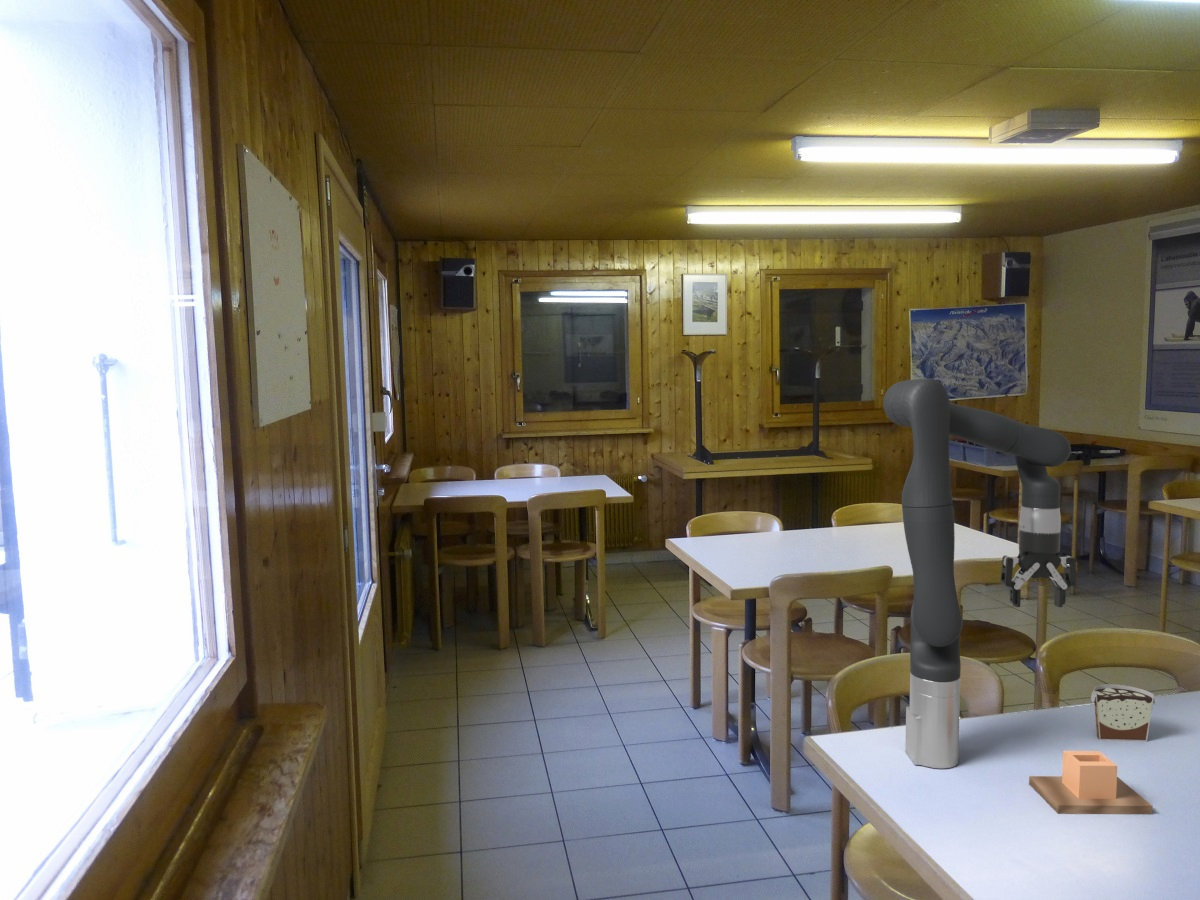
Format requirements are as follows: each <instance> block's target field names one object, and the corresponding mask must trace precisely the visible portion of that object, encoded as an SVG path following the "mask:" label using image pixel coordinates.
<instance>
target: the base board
mask: <svg viewBox="0 0 1200 900" xmlns="http://www.w3.org/2000/svg"><path fill="white" fill-rule="evenodd" d="M1028 784H1029V786H1030V787H1031V788H1032V789H1034V791H1035V792H1036V793H1037V794H1038V795H1039V796H1040V797H1041V798H1042V799H1043V800H1044V802H1046V803H1047V804H1048V805H1049V806H1050V808H1052V810H1054V812H1056V814H1058V815H1059V814H1061V815H1062V814H1063V815H1065V814H1066V815H1067V814H1069V815H1072V814H1073V815H1074V814H1075V815H1078V814H1079V815H1082V814H1083V815H1102V814H1103V815H1153V808H1154V807H1153V805H1152V804H1151V803H1150V802H1149V801H1148V800H1146V799H1145V798H1144V797H1143V796H1142V795H1140V794H1139V793H1138V792H1137V791H1136V790H1134V789H1133V788H1132V787H1130V786H1129V785H1128V784H1127V783H1126V782H1124V781H1123V780H1122V779H1121V778H1120V777H1118V776H1117V788H1116V799H1079V798H1078V797H1077V796H1076V795H1074V794H1073V793H1072V792H1071V791H1070V790H1069V789H1068V788H1067V787H1066V786H1065V785H1064V784H1063V783H1062V775H1061V776H1060V775H1058V776H1052V775H1050V776H1049V775H1047V776H1046V775H1045V776H1043V775H1042V776H1041V775H1037V776H1035V775H1033V776H1032V775H1029V778H1028Z"/></svg>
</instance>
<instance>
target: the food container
mask: <svg viewBox="0 0 1200 900" xmlns="http://www.w3.org/2000/svg"><path fill="white" fill-rule="evenodd" d="M1090 701H1091V702H1092V703H1093V704H1094V716H1095V717H1094V718H1095V730H1096V738H1097V739H1098V741H1110V742H1111V741H1115V742H1117V741H1118V742H1122V741H1123V742H1146V743H1147V742H1148V738H1149V737H1148V736H1149V732H1150V724H1151V718H1152V713H1153V706H1154V705H1157V700H1156V697H1155V694H1154V693H1153V692H1150V691H1148V690H1145V689H1142V688H1139V687H1136V686H1130V685H1124V684H1123V685H1122V684H1113V683H1112V684H1107V683H1106V684H1101V685H1097V686H1095V687H1094V688H1093V690H1092V692H1091V696H1090Z"/></svg>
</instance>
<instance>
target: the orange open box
mask: <svg viewBox="0 0 1200 900" xmlns="http://www.w3.org/2000/svg"><path fill="white" fill-rule="evenodd" d="M1061 772H1062V774H1061V776H1062V783H1063V784H1064V785H1065V786H1066V787H1067V788H1068V789H1069V790H1070V791H1071V792H1072V793H1073V794H1074V795H1076V796H1077V797H1078V798H1079V799H1116V788H1117V777H1118V765H1117V764H1116V763H1115V762H1113V761H1112V760H1111V759H1110V758H1108V756H1107V755H1104V754H1103V753H1102V752H1101V751H1099V750H1063V751H1062V771H1061Z"/></svg>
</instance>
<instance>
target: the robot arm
mask: <svg viewBox="0 0 1200 900" xmlns="http://www.w3.org/2000/svg"><path fill="white" fill-rule="evenodd" d="M882 403H883V404H882V405H883V410H884V413H885V415H886V417H887V418H888V419H889V420H890V421H891V422H893V423H894V424H896V425H898V426H900V427H905V428H911V431H912V443H913V457H912V462H911V464H910V468H909V471H908V473H907V476H906V478H905V482H904V485H903V489H902V493H901V510H902V521H903V530H904V536H905V541H906V546H907V552H908V555H909V561H910V565H911V568H912V577H913V602H912V605H911V609H910V633H909V634H910V635H909V636H910V639H909V640H910V641H909V644H910V645H909V661H910V662H909V663H910V665H909V667H910V669H909V671H910V672H909V674H910V675H909V677H910V678H909V706H908V705H907V706H906V707H905V708H906V709H905V747H904V748H905V754H906V755H907V756H908V757H909V759H910V760H911V762H912V763H913V764H914V765H915V766H924V767H927V768H932V769H950V768H954V767H956V766H957V765H958V763H959V755H960V751H959V746H960V744H959V743H960V712H961V711H960V707H961V699H960V698H961V667H962V666H961V648H960V647H961V646H960V645H961V643H960V642H961V632H962V630H963V626H964V621H963V616H962V612H961V610H960V605H959V599H958V594H957V589H956V584H955V583H956V582H955V571H954V568H955V566H954V565H955V513H954V503H953V495H952V486H951V485H952V484H951V481H952V480H951V465H950V464H951V463H950V436H953V437H956V438H958V439H961V440H964V441H966V442H970V443H972V444H976V445H979V446H981V447H984V448H987V449H989V450H992V451H995V452H997V453H998V452H999V453H1002V454H1005V455H1011V456H1014V457H1015V458H1014V459H1015V463H1016V468H1017V473H1018V476H1019V479H1020V482H1021V502H1020V503H1021V506H1020V513H1019V523H1018V527H1019V531H1018V555H1017V556H1015V557H1013V556H1008V555H1003V556H1002V560H1001V571H1000V584H1002V585H1004V586H1005V587H1009V602H1010V604H1012V606H1013V607H1015V608H1021V596H1022V595H1021V594H1022V593H1021V592H1022V590H1021V587H1022V586H1023V585H1024V584H1025V583H1026V582H1028V581H1029V580H1030V578H1031V579H1039V578H1042V579H1049V578H1050V579H1051V581H1052V582H1053V583H1054V585H1055V587H1054V593H1053V595H1054V596H1053V597H1054V599H1053V600H1054V601H1053V603H1054V606H1055V607H1057V608H1063V606H1064V605H1065V604H1066V593H1067V591H1066V590H1067V589H1068V588H1070V587H1076V585H1077V562H1076V560H1077V559H1076V558H1075V557H1072V556H1070V555H1064V556H1061V555H1060V551H1061V527H1062V526H1061V525H1062V522H1061V521H1062V516H1061V484H1060V481H1058V479H1056V478H1054V477H1051V475H1049V473H1048V469H1047V467H1048V468H1053V467H1055V468H1056V467H1060V466H1061V465H1063V464H1065V463H1066V462H1067V461H1068V460H1069V458H1070V455H1071V454H1072V447H1071V444H1070V442H1069V440H1068V438H1067V437H1066V436H1065V435H1063V434H1062V433H1061V432H1057V431H1054V430H1051V429H1048V428H1043V427H1040V426H1035V425H1030V424H1026V423H1023V422H1020V421H1019V420H1016V419H1013V418H1010V417H1007V416H1006V415H1003V414H1000V413H997V412H993V411H989V410H984V409H980V408H974V407H970V406H965V405H960V404H956V403H952V402H950V399H949V394H948V391H947V389H946V387H945V386H944V385H943V383H942V382H940V381H938V379H934V378H929V377H928V378H927V377H926V378H917V379H906V380H901V381H898V382H896V383H894V384H892V385H890V387H889V388H888V389H887V390H886V392H885V394H884V397H883V401H882ZM1017 565H1018V566H1019V568H1018V569H1017V571H1016V572H1015V574H1014V576H1013V569H1014V568H1015V567H1016V566H1017ZM1060 565H1061V566H1062V567H1063V570H1064V572H1063V573H1064V575H1063V576H1064V579H1063V577H1062V576H1061V574H1060V573H1059V572H1058V570H1057V569H1058V568H1059V566H1060Z"/></svg>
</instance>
